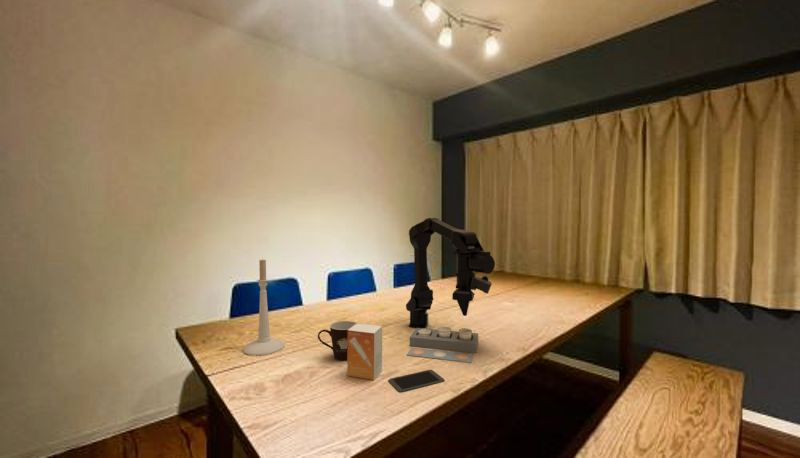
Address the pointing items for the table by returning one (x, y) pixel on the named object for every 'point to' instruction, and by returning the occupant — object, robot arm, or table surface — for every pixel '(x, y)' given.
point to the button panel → (444, 341)
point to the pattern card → (440, 355)
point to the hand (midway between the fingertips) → (464, 315)
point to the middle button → (444, 332)
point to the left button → (424, 332)
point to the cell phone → (415, 380)
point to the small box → (364, 351)
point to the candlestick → (263, 323)
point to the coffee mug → (339, 338)
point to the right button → (465, 334)
